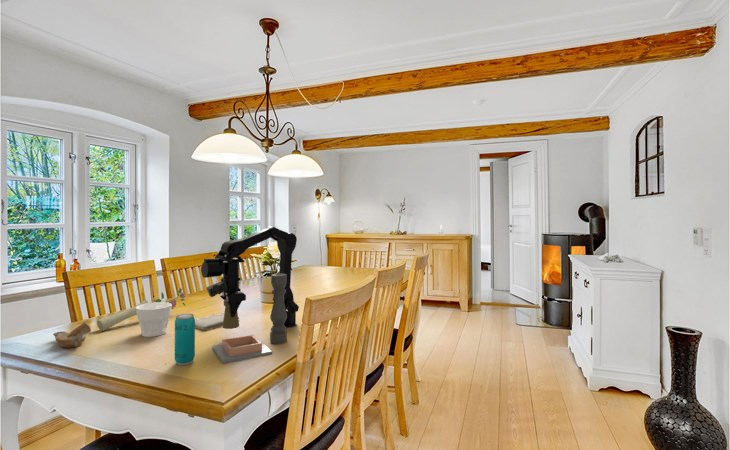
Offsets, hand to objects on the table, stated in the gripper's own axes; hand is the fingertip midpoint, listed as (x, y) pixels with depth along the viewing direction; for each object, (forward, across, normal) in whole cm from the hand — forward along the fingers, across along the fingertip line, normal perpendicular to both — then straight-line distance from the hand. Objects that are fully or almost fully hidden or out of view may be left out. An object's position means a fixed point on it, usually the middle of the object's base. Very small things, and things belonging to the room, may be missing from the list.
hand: (231, 315), depth 140 cm
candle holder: (+9, +12, +14) cm, 21 cm away
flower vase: (+9, -43, -26) cm, 51 cm away
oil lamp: (+9, -23, -50) cm, 55 cm away
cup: (+9, -22, -24) cm, 34 cm away
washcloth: (+10, -24, -1) cm, 26 cm away
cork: (+4, 0, 0) cm, 4 cm away
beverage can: (+9, +16, -18) cm, 26 cm away
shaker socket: (+9, +15, 0) cm, 17 cm away
